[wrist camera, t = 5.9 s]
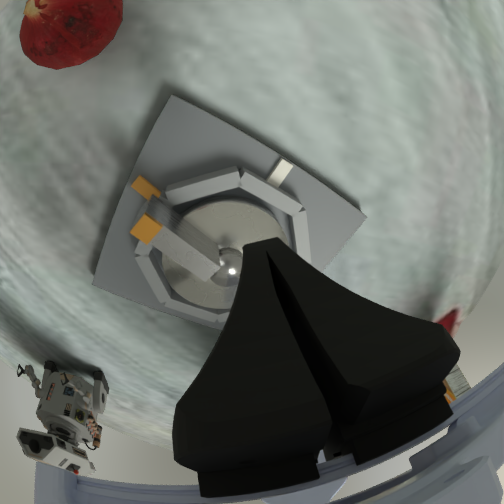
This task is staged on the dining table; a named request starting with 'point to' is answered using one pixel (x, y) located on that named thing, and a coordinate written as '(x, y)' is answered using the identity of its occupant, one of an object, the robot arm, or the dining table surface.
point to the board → (208, 185)
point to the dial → (205, 243)
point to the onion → (68, 30)
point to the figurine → (65, 419)
